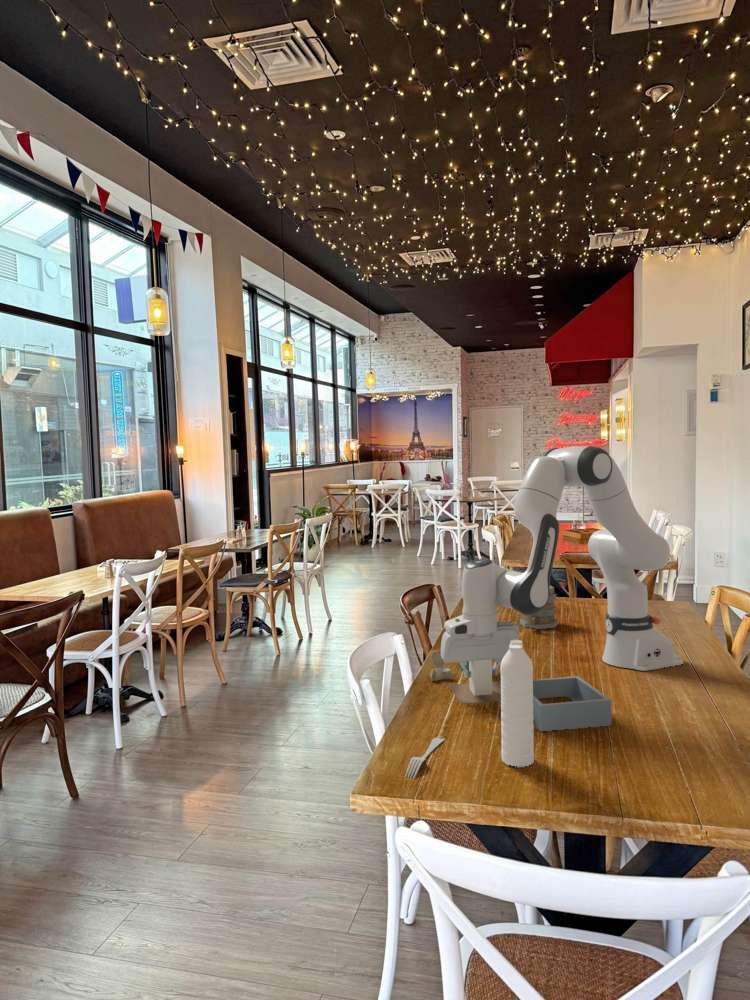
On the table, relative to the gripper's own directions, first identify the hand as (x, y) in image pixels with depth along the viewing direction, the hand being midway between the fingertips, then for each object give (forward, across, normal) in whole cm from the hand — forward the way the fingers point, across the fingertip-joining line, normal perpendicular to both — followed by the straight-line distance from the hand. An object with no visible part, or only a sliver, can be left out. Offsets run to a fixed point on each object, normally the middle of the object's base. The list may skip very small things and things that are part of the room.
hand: (480, 676), depth 174 cm
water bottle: (+6, +4, +37) cm, 38 cm away
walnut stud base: (+6, 0, 0) cm, 6 cm away
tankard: (+6, -40, -63) cm, 75 cm away
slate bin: (+6, -15, +15) cm, 22 cm away
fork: (+6, +22, +30) cm, 38 cm away
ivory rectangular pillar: (+4, 0, 0) cm, 4 cm away
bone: (+6, +7, -13) cm, 16 cm away
